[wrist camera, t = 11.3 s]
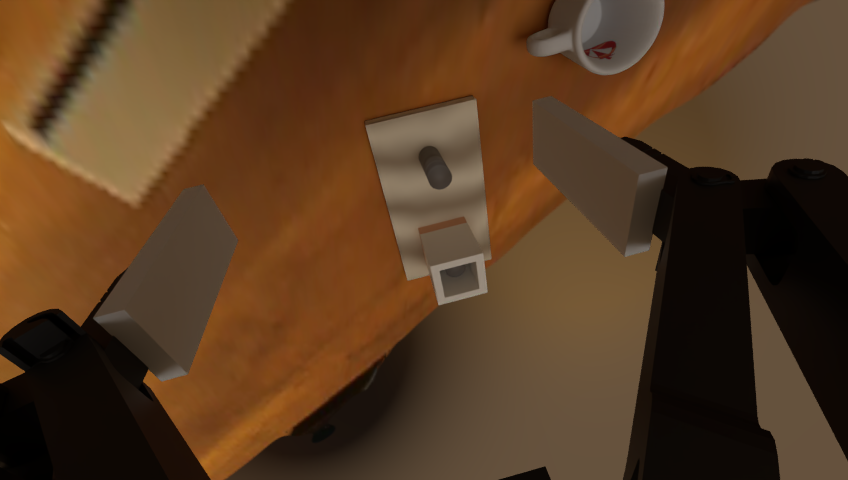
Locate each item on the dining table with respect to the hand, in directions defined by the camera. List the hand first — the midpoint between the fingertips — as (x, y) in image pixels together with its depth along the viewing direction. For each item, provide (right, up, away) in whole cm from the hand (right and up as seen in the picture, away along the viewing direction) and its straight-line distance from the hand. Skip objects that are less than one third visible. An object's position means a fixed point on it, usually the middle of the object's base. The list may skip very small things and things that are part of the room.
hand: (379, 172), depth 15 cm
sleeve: (+4, -3, +34) cm, 35 cm away
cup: (+16, +20, +24) cm, 35 cm away
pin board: (+3, +3, +32) cm, 32 cm away
